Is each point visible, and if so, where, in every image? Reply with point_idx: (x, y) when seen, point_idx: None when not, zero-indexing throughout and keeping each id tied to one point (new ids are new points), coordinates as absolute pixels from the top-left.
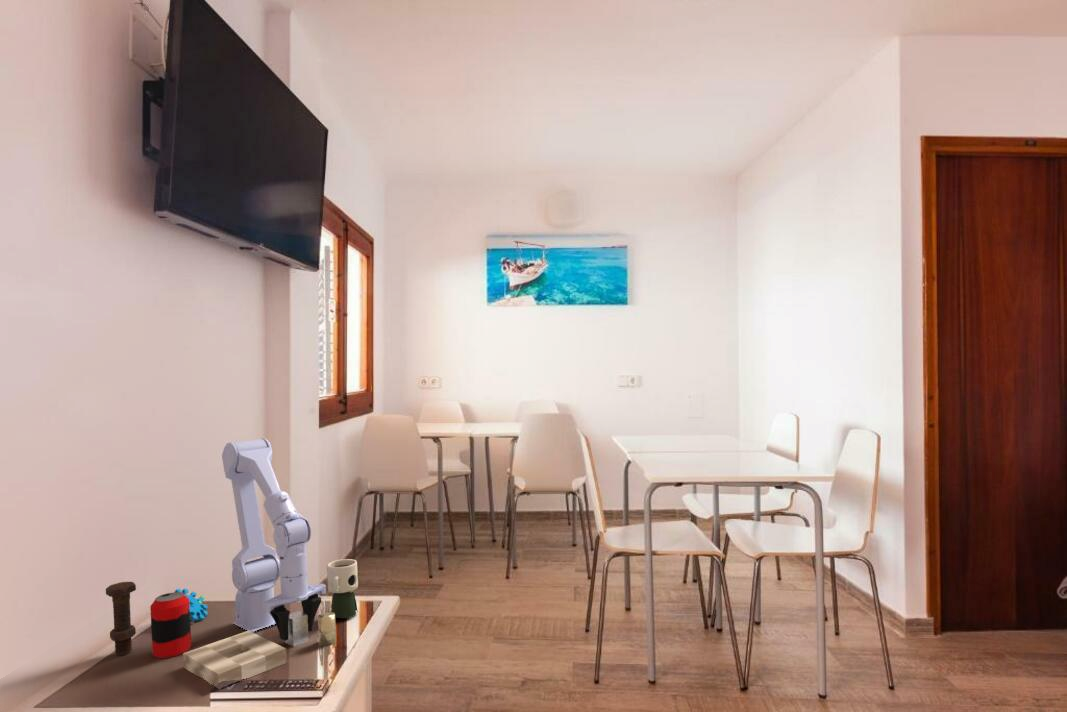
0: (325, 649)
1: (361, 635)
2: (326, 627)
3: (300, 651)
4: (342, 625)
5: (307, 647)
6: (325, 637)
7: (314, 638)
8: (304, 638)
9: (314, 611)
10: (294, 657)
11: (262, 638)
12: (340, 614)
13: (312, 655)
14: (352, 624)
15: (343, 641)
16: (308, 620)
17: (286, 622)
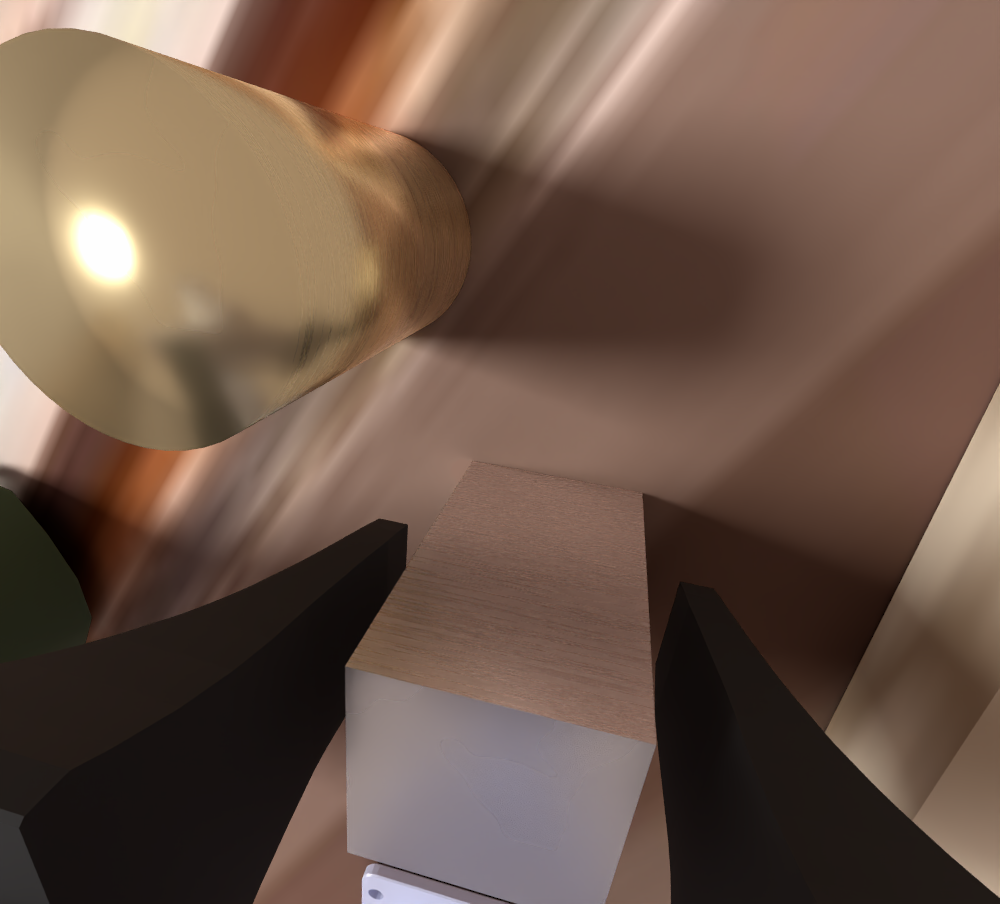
0: (525, 61)
1: (38, 4)
2: (326, 126)
3: (708, 325)
4: (93, 437)
5: (588, 341)
6: (412, 166)
7: (402, 454)
8: (508, 488)
9: (204, 634)
10: (888, 243)
11: (952, 798)
12: (12, 548)
13: (747, 52)
14: (18, 368)
15: (257, 63)
16: (348, 619)
17: (792, 765)
